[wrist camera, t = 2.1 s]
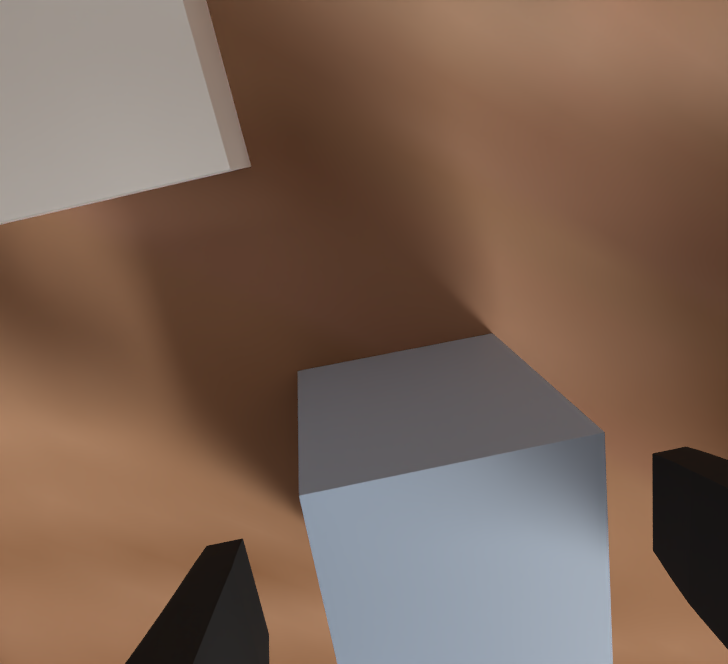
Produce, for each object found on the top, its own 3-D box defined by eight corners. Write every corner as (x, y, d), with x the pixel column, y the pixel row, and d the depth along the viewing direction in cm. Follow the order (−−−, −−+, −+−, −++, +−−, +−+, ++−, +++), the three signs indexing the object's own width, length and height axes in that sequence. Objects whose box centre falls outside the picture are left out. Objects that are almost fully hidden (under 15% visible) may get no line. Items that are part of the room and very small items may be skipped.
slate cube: (332, 536, 14) (352, 728, 9) (297, 370, 13) (298, 495, 8) (508, 499, 14) (612, 667, 10) (491, 332, 13) (604, 432, 8)
